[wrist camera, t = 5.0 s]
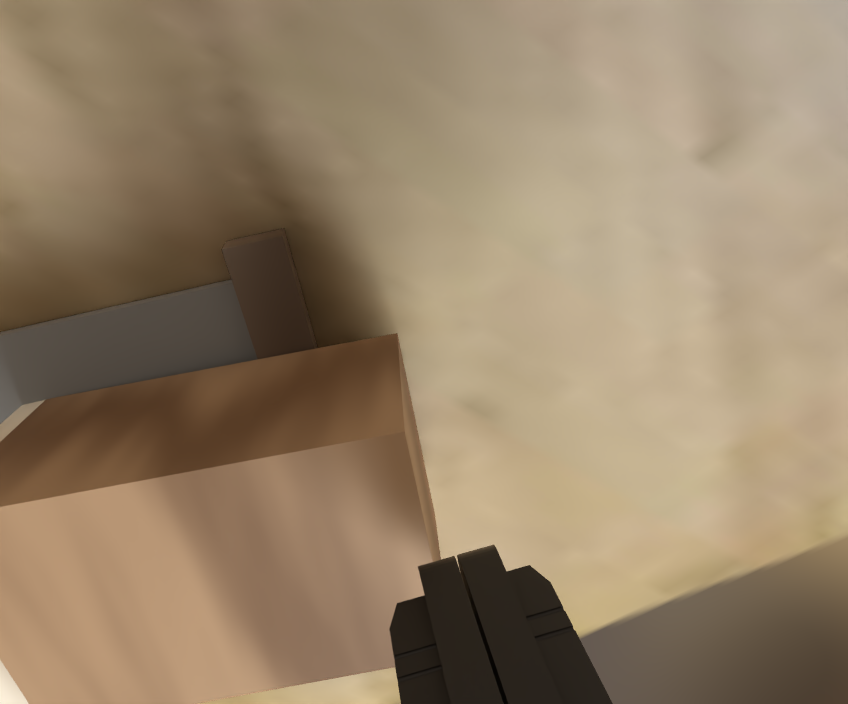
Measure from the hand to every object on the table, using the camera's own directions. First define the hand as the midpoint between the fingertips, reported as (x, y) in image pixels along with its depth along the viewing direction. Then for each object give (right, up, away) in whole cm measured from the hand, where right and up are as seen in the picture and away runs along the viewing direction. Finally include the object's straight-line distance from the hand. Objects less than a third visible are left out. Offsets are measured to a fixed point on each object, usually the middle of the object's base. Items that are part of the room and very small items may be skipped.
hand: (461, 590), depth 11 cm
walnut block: (-1, +1, +3) cm, 4 cm away
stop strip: (-4, +2, +7) cm, 8 cm away
